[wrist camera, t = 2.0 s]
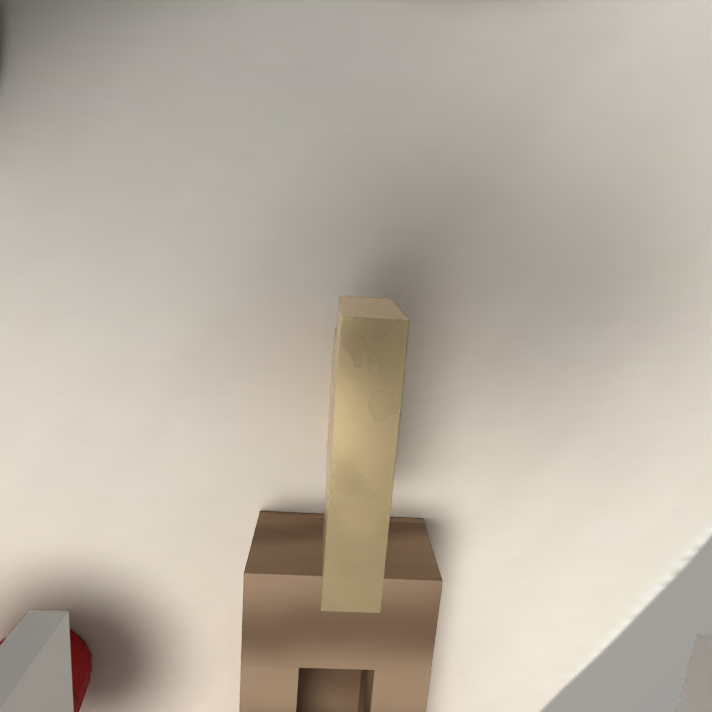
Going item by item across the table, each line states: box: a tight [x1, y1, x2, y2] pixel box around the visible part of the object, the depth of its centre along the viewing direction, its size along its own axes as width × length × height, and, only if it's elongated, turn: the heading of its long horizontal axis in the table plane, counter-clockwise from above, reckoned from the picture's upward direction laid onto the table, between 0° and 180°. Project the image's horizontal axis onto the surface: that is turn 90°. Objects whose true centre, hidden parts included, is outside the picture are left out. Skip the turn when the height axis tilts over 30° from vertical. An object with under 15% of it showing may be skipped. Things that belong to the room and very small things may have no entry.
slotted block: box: [240, 511, 442, 712], centre depth 32 cm, size 20×10×6 cm, turn 176°
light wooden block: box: [321, 295, 409, 613], centre depth 25 cm, size 12×2×11 cm, turn 176°
